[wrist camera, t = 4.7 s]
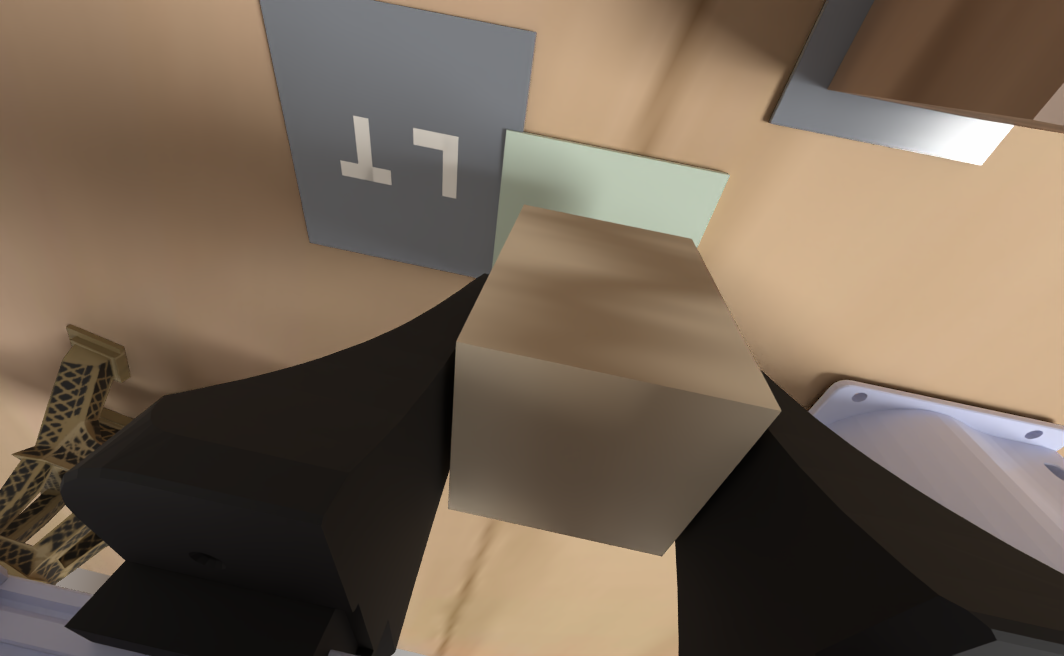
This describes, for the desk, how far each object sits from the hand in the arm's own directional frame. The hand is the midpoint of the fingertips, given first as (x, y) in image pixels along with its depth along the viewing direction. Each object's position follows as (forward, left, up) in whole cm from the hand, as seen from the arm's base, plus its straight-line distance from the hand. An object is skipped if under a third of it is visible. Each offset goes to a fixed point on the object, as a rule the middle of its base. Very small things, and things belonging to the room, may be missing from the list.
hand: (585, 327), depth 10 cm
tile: (+7, -2, -5) cm, 9 cm away
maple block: (0, 0, -2) cm, 2 cm away
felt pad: (0, 0, -5) cm, 5 cm away
